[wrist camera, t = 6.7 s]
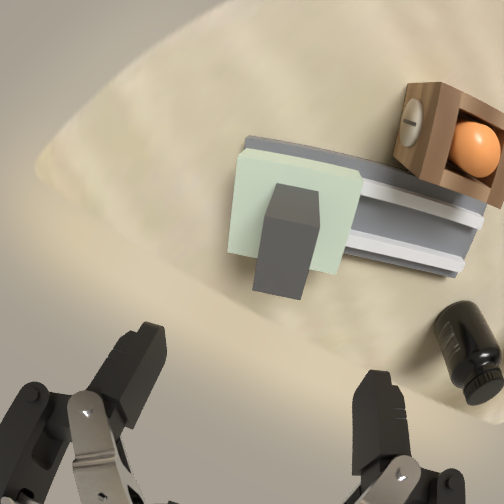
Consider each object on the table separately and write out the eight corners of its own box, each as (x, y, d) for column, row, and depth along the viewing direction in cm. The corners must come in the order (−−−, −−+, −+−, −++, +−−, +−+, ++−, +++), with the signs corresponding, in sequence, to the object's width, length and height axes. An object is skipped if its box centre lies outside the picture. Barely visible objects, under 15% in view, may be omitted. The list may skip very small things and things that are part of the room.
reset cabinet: (479, 113, 20) (524, 126, 13) (462, 179, 23) (500, 209, 17) (402, 81, 20) (434, 79, 14) (386, 154, 24) (412, 176, 18)
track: (480, 197, 23) (493, 207, 21) (450, 270, 28) (458, 284, 26) (249, 135, 26) (242, 139, 23) (237, 224, 30) (231, 236, 28)
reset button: (479, 127, 17) (505, 136, 14) (468, 169, 19) (492, 184, 16) (443, 110, 17) (466, 115, 14) (432, 154, 19) (453, 167, 16)
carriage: (358, 170, 22) (381, 214, 15) (334, 255, 26) (339, 326, 19) (246, 147, 23) (211, 179, 15) (235, 235, 27) (204, 297, 20)
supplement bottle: (446, 345, 33) (468, 417, 23) (424, 322, 32) (447, 401, 22) (485, 316, 30) (516, 385, 20) (467, 288, 29) (504, 363, 18)
